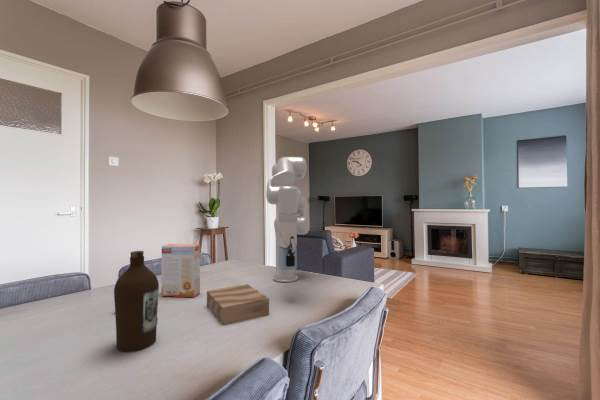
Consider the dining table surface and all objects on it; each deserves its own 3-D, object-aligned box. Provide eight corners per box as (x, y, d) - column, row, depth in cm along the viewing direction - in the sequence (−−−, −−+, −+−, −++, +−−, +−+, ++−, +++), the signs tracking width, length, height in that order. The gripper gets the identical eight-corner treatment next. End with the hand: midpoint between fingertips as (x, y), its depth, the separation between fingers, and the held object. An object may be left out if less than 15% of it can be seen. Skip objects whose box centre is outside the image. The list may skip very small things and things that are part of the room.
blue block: (279, 266, 114) (279, 246, 114) (292, 265, 116) (292, 245, 116) (283, 270, 109) (283, 249, 109) (296, 269, 111) (296, 248, 111)
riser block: (206, 306, 107) (206, 290, 107) (247, 299, 116) (247, 284, 116) (222, 326, 90) (222, 307, 90) (269, 315, 99) (269, 298, 99)
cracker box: (200, 293, 122) (200, 243, 122) (193, 298, 116) (194, 245, 116) (169, 292, 123) (169, 243, 123) (160, 297, 117) (161, 245, 117)
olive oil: (104, 353, 74) (104, 255, 74) (130, 334, 84) (130, 248, 84) (144, 353, 73) (145, 255, 73) (165, 334, 84) (165, 248, 84)
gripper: (272, 216, 119) (272, 260, 119) (285, 220, 103) (285, 270, 103) (289, 216, 122) (289, 259, 122) (305, 219, 106) (305, 268, 106)
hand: (287, 263), depth 113 cm, fingers closed on blue block, 5 cm apart
